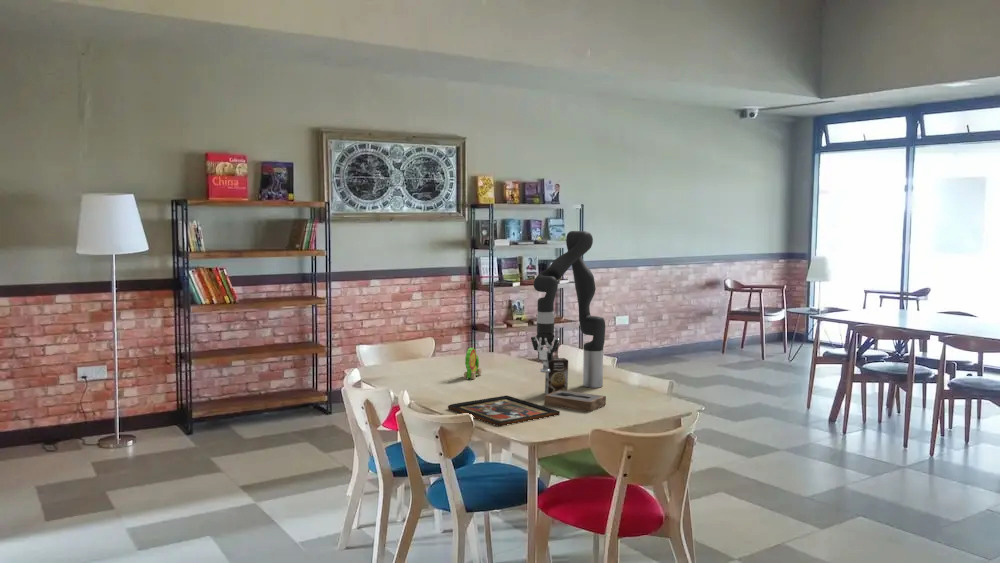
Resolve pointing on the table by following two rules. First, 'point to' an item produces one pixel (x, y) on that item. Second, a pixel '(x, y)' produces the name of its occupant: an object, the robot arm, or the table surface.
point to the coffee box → (557, 375)
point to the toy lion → (472, 364)
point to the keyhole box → (575, 400)
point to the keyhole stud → (544, 360)
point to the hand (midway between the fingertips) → (545, 360)
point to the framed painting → (503, 410)
